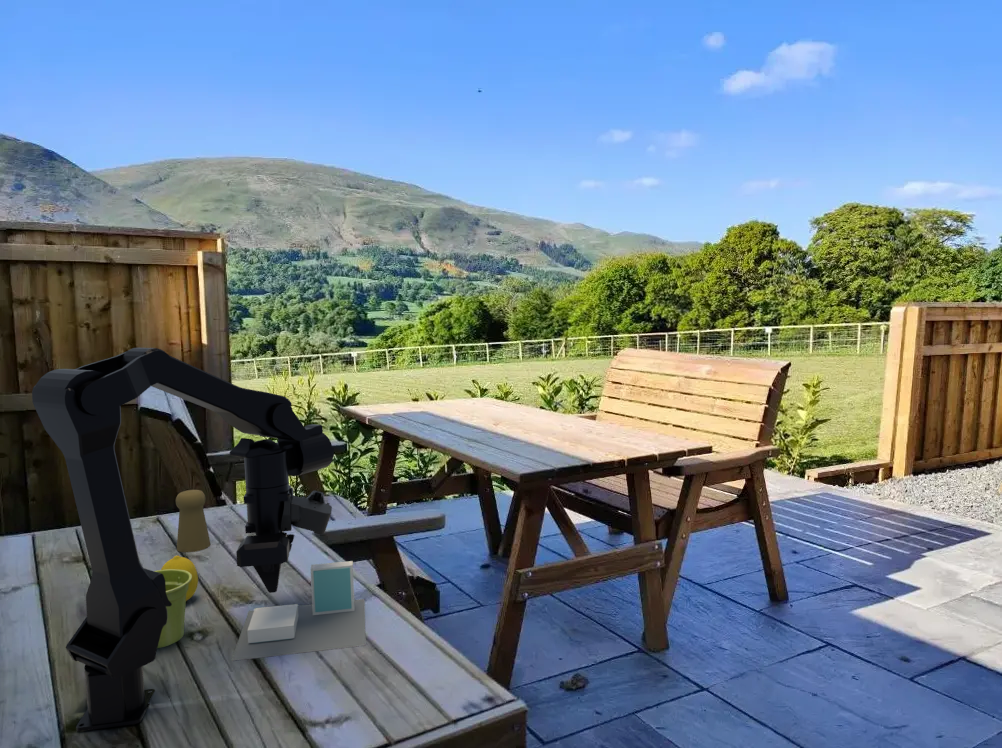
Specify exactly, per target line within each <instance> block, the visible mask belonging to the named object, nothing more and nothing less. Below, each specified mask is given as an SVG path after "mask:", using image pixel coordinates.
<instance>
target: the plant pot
mask: <svg viewBox="0 0 1002 748" xmlns="http://www.w3.org/2000/svg"><path fill="white" fill-rule="evenodd" d="M154 571H155V572H158V573H161V574H163V575H164V578H165V584H166V595H167V597H168V600H169V601H170V602H171V603H172V605H171V606H166V608H167V614H168V619H167V623H166V625H165V626H164V627H163V629H162V631H161V635H160V639H159V643H158V647H157V649H161V648H165V647H168V646H171V645H173V644H175V643H177V642H178V641H180V640H181V639H182V638H183V637H184V634H185V619H186V617H185V616H186V602H187V601H186V593H187V591H188V587H189V583H190V582H191V580H192V575H191V574H190V573H189V572H187V571H185V570H177V569H166V570H161V569H158V570H154Z"/></svg>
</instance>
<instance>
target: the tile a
mask: <svg viewBox="0 0 1002 748" xmlns="http://www.w3.org/2000/svg"><path fill="white" fill-rule="evenodd" d="M298 606H299V604H298V603H294V604H285V605H284V604H283V605H274V606H263V607H256V608H255V607H254V609H253V610H254V612H253V615H252V618H251V621H250V624H249V627H248V630H247V633H248V643H259V642H268V641H277V640H286V639H292V638H295V632H296V627H297V621H298V616H299V615H298Z"/></svg>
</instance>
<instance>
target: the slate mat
mask: <svg viewBox="0 0 1002 748" xmlns="http://www.w3.org/2000/svg"><path fill="white" fill-rule="evenodd" d="M354 605H355V609H354V611H349V612H339V613H330V614H320V615H313V609H312V603H311V604H303V605H298V615H299V616H298V621H297V627H296V632H295V638H292V639H286V640H277V641H268V642H259V643H248V633H247V630H248V627H249V624H250V621H251V618H252V615H253V612H254V609H253V610H248V612H247V614H246V618H245V621H244V623H243V626H242V630H241V632H240V635H239V637H238V640H237V643H236V646H235V649H234V652H233V654H232V658H231V661H230V662H237V661H244V660H254V659H262V658H271V657H278V656H279V657H280V656H286V655H287V656H288V655H296V654H306V653H314V652H321V651H322V652H323V651H329V650H330V651H331V650H340V649H349V648H355V647H356V648H357V647H365V646H367V644H366V641H367V640H366V608H365V605H366V602H365V598H362V599H354Z"/></svg>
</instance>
